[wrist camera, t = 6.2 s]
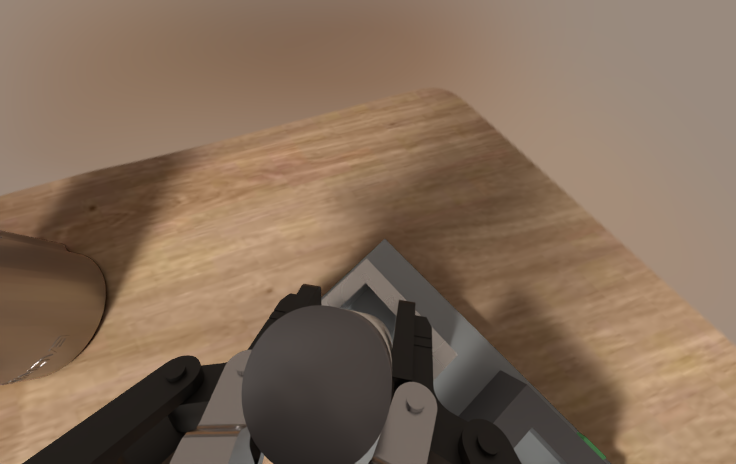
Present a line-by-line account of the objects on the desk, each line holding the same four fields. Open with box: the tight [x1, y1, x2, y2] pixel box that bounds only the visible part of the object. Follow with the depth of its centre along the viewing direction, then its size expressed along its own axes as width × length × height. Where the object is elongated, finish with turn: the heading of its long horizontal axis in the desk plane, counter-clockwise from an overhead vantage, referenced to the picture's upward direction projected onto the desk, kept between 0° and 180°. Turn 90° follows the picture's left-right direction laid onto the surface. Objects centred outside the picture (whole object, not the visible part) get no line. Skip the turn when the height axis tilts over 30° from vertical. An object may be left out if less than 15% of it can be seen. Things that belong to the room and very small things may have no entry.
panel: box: [321, 239, 611, 464], centre depth 16 cm, size 18×12×1 cm, turn 43°
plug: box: [241, 305, 393, 464], centre depth 11 cm, size 4×4×10 cm
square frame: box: [321, 258, 458, 441], centre depth 16 cm, size 7×7×2 cm
